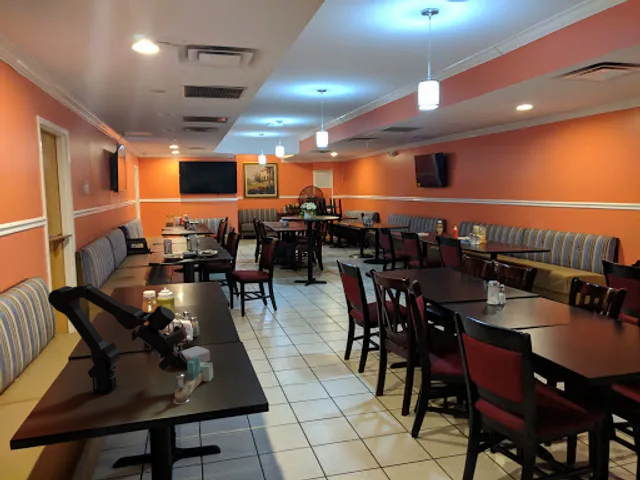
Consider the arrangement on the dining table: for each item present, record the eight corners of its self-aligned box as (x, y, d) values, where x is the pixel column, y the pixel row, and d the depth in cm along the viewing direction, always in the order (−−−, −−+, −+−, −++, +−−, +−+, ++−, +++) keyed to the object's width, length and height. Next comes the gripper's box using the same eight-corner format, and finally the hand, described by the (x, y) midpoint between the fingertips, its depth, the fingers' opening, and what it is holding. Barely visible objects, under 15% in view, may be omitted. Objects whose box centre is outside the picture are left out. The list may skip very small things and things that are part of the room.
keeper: (193, 380, 166) (192, 366, 166) (197, 376, 170) (197, 362, 170) (209, 381, 166) (208, 366, 165) (213, 376, 170) (212, 362, 169)
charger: (163, 368, 179) (196, 356, 191) (177, 374, 173) (210, 361, 185) (162, 356, 179) (195, 345, 190) (176, 361, 173) (209, 350, 184)
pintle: (170, 404, 149) (168, 378, 148) (177, 396, 154) (175, 371, 153) (186, 404, 148) (184, 378, 147) (192, 397, 154) (191, 371, 152)
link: (184, 402, 149) (183, 375, 148) (173, 401, 149) (171, 374, 148) (208, 375, 170) (207, 351, 169) (198, 375, 170) (197, 351, 169)
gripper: (167, 329, 149) (204, 360, 152) (174, 313, 167) (207, 341, 171) (143, 355, 149) (180, 385, 152) (152, 336, 167) (185, 364, 170)
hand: (189, 367), depth 161 cm, fingers closed
